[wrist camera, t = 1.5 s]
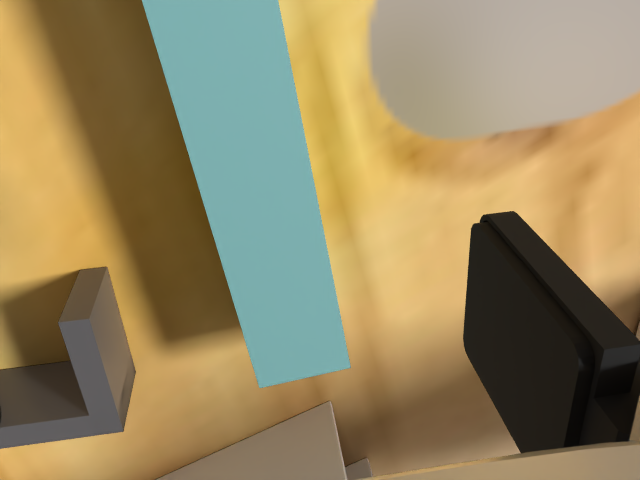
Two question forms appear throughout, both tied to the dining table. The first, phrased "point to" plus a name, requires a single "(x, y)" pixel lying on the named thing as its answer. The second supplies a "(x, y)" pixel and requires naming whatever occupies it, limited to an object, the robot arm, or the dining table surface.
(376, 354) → the dining table surface
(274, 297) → the slat
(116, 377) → the end cap
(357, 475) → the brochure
